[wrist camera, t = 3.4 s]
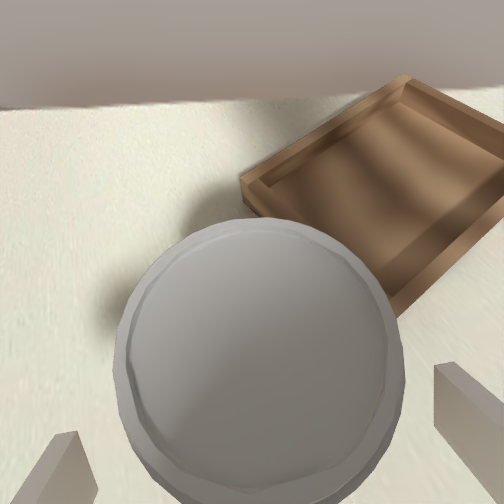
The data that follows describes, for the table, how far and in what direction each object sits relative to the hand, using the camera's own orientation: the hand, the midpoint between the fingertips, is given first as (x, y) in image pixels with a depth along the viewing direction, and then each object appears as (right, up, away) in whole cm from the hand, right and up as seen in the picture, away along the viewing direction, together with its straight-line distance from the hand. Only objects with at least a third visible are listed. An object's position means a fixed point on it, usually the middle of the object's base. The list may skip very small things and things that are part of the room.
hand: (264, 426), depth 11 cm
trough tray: (+11, +12, +15) cm, 22 cm away
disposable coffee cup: (0, -2, +9) cm, 9 cm away
